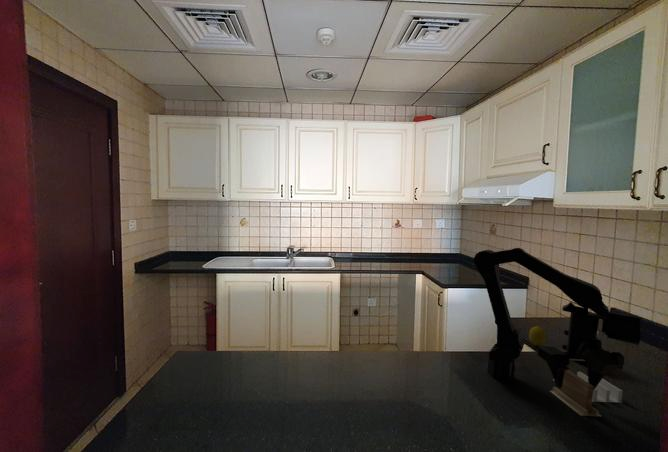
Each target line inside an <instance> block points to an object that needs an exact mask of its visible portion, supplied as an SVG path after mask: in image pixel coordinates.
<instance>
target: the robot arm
mask: <svg viewBox="0 0 668 452" xmlns="http://www.w3.org/2000/svg"><path fill="white" fill-rule="evenodd" d="M473 263H474V265H475V267H476V269H477V272H478V274H479V275H480V276H481V278H482V280H484V281H483V282H484V284H485V288H486V292H487V295H488V299H489V302H490V305H491V310H492V312H493V317H494V321H495V325H496V343H495V344H494V345H493V346H492V347H491V349H490V350H489V352H488V358H487V359H488V360H487V361H488V363H487V370H486V372H487V374H488V375H489V376H491V378H493V379H496V380H500V381H504V382H507V381H510V380H513V379H515V372H516V365H515V360H517V359H518V358H519V357H520V356H521V353H522V351H523V349H524V346H525V343H526V341H525V339H524V338H523V337H524V336H523V332H522V328H518V329H517V328H516V327H515V326H514V324H513V322H512V318H511V314H510V309H509V308H508V303H507V301H506V297H505V293H504V290H503V286H502V283H501V280H500V279H501V278H500V265H503V264H508V263H516V264H519V266H521V267H523V268H525V269H526V270H529V271H530V272H532V273H533V274H535V275H537V276H539V277H540V278H541V279H544V280H545V281H547V282H549V283H550V284H552V285H554V286H556V287H557V288H558V289H559V290H560V291H561V292H562V293H563V294H564V295H566V297H568V298H569V299H570V300H571V301H570V302H569V303H567V304H565V305H563V306H562V309H561V310H562V312H567V313H570V315H569V322H568V323H569V325H568V329H565V330H564V331H563V334H564V335H566V336H567V339H566V340H567V341H566V344H562V347H561V349H563V350H564V351H562V350H560V349H558V348H557V347H555V346H547V345H546V346H544V345H540V346H539V347H538V353H537V356H539V357H540V358H542V360H544V361H545V362H546V364H547V366H548V367H549V370H550V373H551V375H552V378H553V379H554V380H553V381H554V383H555V385H556V386H555V387H557V388H558V389H560V388H561V387H562V384H563V378H564V372H565V371H566V370H570V367H569V365H570V361H574V362H576V361H586V362H587V368H586V369H587V376H588V383H589V384H591V385H592V386H594V390H595V388H596V387H597V385H598V384H599V382H600V381H601V379H604V378H605V376H606V374H610V375H614V374H615V373H616V372H617V371H618V370H620V371H621V370H623V369H624V365H625V355H623V354H622V353H621V352H619V351H618V352H616V351H612V352H610V350H605V349H603V347H602V344H603V343H602V340H601V339H599V338H598V339H597V331H598V332H599V322H600V320H601V326H600V327H601V328H600V332H601V333H604V336H605V337H606V338H608V339H611V340H614V341H615V340H616V341H620V342H624V343H627V344H630V345H631V344H632V345H636V346H639V344H640V343H641V342H640V341H641V337H642V333H641V318H640V317H639V316H638V315H635V314H625V313H619V312H616V311H610V310H609V307H608V306H607V305H606V304H605V303H604V301H603V295H602V291H601V289H600V288H599V287H598V286H596V284H595V285H594V284H593V283H590V282H589V281H585V280H582V279H580V278H578V277H577V278H576V277H574V276H570V275H568V274H566V273H564V272H562V271H560V270H559V269H558V268H557V269H556V268H555V267H553V266H551V265H549V264H548V263H546V262H544V261H543V260H540V259H539V258H537V257H535V256H534V255H532V254H530V253H528V252H527V251H525V250H524V249H523V248H520V247H515V248H512V249H507V250H499V251H494V250H490V249H486V250H482V251H478V252H476V254H475V255H474V257H473ZM572 301H573V302H574V303H575V304H577V305H575V304H574V303H573V302H572ZM589 310H591V311H589Z"/></svg>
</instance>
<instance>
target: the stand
mask: <svg viewBox="0 0 668 452" xmlns="http://www.w3.org/2000/svg"><path fill="white" fill-rule="evenodd" d="M549 392H550V393H551V394H553V395H554V396H555V397H556V398H558V399H559V400H560V401H561V402H563V403H564V404H566V405H567V407H569V408H570V409H571V410H573V411H574V412H576V413H577V414H578V415H579V416H582V417H583V416H585V417H602V415H601V414H600V411H599V410H597V409H596V408H595V407H593V405H592V406H591V413H587V412H588V411H587V410H586V409H584V408H583V407H582V406H580V405H579V404H578V403H576V402H575V401H574V400H572V399H571V398H570V397H568V396H567V395H566V394H564V393H563V392H562V391H561V390H560V388H558V387H557V386H552V390H549Z"/></svg>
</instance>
